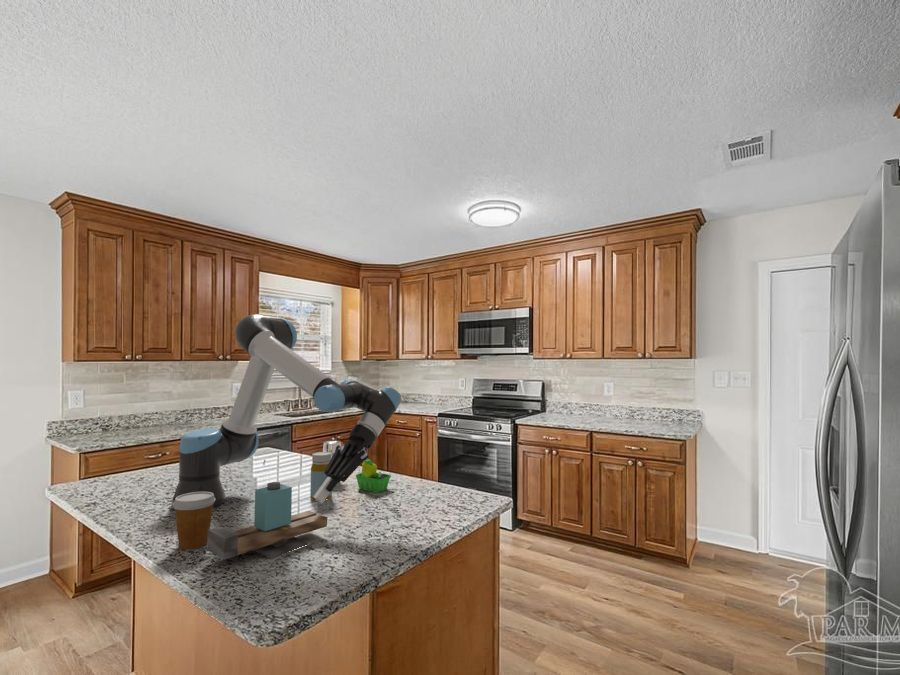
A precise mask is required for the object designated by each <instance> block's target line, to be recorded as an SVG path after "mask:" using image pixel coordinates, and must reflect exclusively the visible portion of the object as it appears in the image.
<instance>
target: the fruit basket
mask: <svg viewBox="0 0 900 675" xmlns="http://www.w3.org/2000/svg"><path fill="white" fill-rule="evenodd" d="M361 466H362V467H361V468H362V469H361V472H360V473H357V474H355V479H356V481H357V485H358V489H360V490H364V491H368V492H373V491H374V493H379V492H382V491H383V492H384V491H385V490H387V489H388V486H389V482H390V479H391V477H392V475H391V474H386V473H381V471H379V472H377V469H378V466H377V464H376V463H374V462H372V460H371V459H370V458H367V459H366V460H364V461H363V462H362V463H361Z"/></svg>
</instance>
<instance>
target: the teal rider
mask: <svg viewBox="0 0 900 675" xmlns="http://www.w3.org/2000/svg"><path fill="white" fill-rule="evenodd" d="M292 491H293V487H292V486H288V485H286V484H283V483H281V482H280V481H273V482H267V485H266V486H265V487H261V488H256V489H255V490H254V495H255V496H254V521H253V523H254V525H253V526H254V527H256V528H258V529H261V530H262V531H268V530H271V529H275V528H278V527H281V526H285V525H288V524H291V515H292V504H293V503H292V496H293V492H292Z"/></svg>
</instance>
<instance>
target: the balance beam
mask: <svg viewBox="0 0 900 675" xmlns="http://www.w3.org/2000/svg"><path fill="white" fill-rule="evenodd" d="M327 527H328V516H325V515H322V514H317V512H315V511H312V510H307V511H302V512H299V513H296V514H291V524H288V525H285V526H281V527H278V528H275V529H271V530H268V531H262V530H261V529H258V528H256V527H254V525H253V526H248V527H244V528H241V529H238V530H233V531H232V530H229V529H227V528H225V527H223V526H217V527H214V528H210V529H209V530H208V539H207V544H206V547H207V548H206V549H207V551H209V552H210V553H212V554H213V555H215V556H217V557H218V558H220V559H222V560H224V561H225V560H227V559H230V558H234V557H237V556H239V555H241V554H245V553H248V552H251V551H255V552H256V553H258V554H260V555H262V556H264V557H266V558H268V559H270V560H271V559H274V558H277V557H280V556H282V555H285V553H286V554H288V553H287V552H289V551H292V550H294V549H297V548H299V547H302V546H305V545H309V543H308V541H305V540H302V539H300V538H298V536H301V535H305V534H307V533H311V532H313V531H314V532H315V531H317V530H320V529H323V528H327ZM292 552H293V551H292ZM289 553H290V552H289Z"/></svg>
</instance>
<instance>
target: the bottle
mask: <svg viewBox="0 0 900 675" xmlns="http://www.w3.org/2000/svg"><path fill="white" fill-rule="evenodd" d="M311 458H312V459H311V461H312V464H311V466H310V488H309V489H310V492H309V496H310V499H311V500H312V499H313V500H316V499H315V498H314V497H313V496H314V495H315V494H316V492H317V491H318V489H319V488H320V486H321V484H322V483H323V482H324V480H325V479H326V477H327V476H326V474H325V473H324V471H325V470H326V468H327V466H328V464H329V462H330V460H331V453H330V452H323V451H319V452H314V453H312V457H311ZM332 496H333V490H332V491H331V492H330V493H329V495H328V496H327V497H326V499H329V498H330V499H331V498H332ZM326 499H325V500H326ZM330 499H329V500H330ZM313 500H312V501H313ZM326 501H327V500H326Z"/></svg>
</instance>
